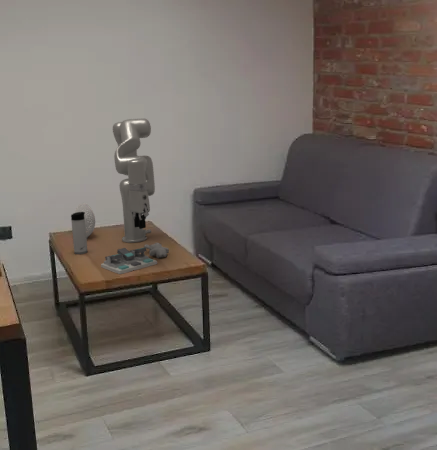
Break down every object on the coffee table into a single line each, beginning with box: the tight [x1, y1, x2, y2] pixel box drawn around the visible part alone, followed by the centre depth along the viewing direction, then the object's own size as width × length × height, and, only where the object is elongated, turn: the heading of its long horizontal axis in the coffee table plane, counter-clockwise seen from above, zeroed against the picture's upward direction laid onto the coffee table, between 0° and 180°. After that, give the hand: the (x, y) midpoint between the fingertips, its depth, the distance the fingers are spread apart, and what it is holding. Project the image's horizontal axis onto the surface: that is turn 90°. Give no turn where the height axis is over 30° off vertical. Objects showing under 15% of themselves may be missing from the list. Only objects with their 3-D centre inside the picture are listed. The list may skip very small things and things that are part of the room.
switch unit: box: [100, 251, 158, 275], centre depth 310 cm, size 20×15×5 cm
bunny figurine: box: [143, 242, 170, 259], centre depth 325 cm, size 10×5×15 cm
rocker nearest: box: [129, 247, 148, 254], centre depth 315 cm, size 4×8×2 cm, turn 41°
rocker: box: [104, 253, 122, 261], centre depth 307 cm, size 4×8×2 cm, turn 41°
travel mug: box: [70, 211, 88, 255], centre depth 332 cm, size 6×7×20 cm
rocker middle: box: [116, 247, 135, 260], centre depth 311 cm, size 4×8×2 cm, turn 41°
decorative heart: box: [74, 202, 96, 240], centre depth 360 cm, size 18×11×17 cm, turn 15°
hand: (140, 227), depth 310 cm, fingers open, 2 cm apart
